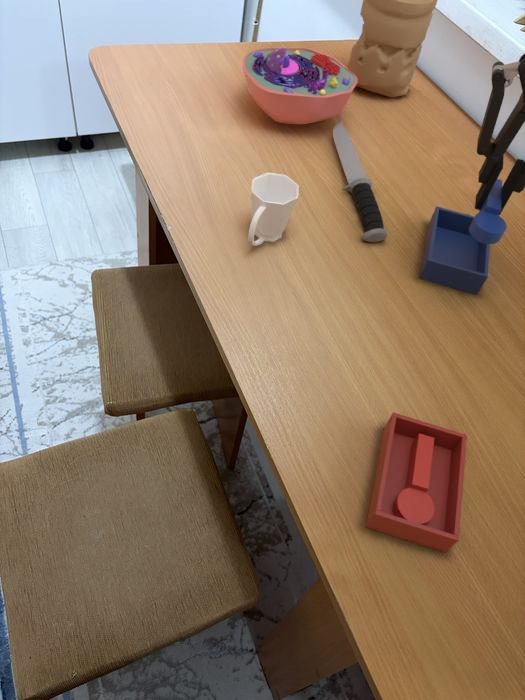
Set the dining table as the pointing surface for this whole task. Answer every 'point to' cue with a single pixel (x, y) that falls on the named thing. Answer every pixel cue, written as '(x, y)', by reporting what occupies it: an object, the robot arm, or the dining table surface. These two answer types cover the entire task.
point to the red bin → (441, 486)
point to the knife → (359, 185)
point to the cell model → (298, 83)
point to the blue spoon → (489, 218)
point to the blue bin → (454, 252)
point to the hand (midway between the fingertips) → (487, 205)
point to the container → (390, 44)
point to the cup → (271, 206)
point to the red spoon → (417, 484)
